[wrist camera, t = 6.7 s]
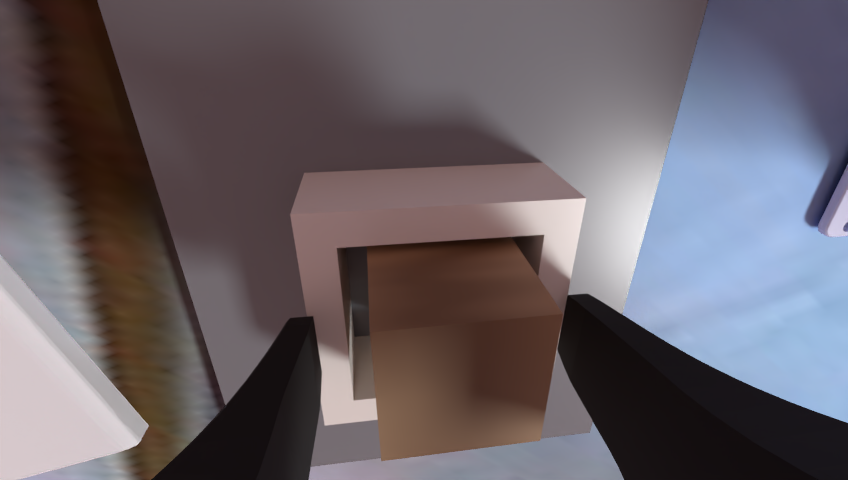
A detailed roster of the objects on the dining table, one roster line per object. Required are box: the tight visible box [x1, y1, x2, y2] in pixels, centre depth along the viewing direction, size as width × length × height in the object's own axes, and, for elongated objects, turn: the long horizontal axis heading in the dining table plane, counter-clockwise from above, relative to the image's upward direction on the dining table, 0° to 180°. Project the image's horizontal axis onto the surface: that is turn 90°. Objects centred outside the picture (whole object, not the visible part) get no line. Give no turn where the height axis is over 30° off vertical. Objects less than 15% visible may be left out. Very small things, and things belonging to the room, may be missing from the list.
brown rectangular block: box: [367, 237, 563, 461], centre depth 12 cm, size 4×4×6 cm
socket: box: [97, 0, 708, 467], centre depth 14 cm, size 16×20×4 cm
